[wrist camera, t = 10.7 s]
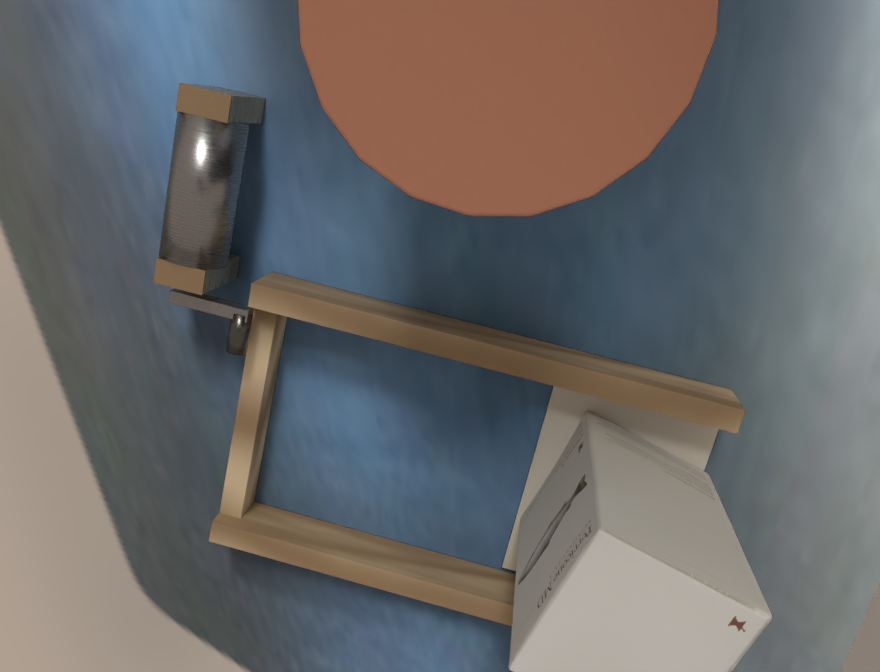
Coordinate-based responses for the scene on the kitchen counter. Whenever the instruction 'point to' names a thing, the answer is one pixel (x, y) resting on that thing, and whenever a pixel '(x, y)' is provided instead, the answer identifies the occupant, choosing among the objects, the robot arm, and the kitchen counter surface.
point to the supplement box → (630, 565)
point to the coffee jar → (505, 91)
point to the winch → (206, 203)
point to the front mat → (653, 427)
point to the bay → (439, 336)
